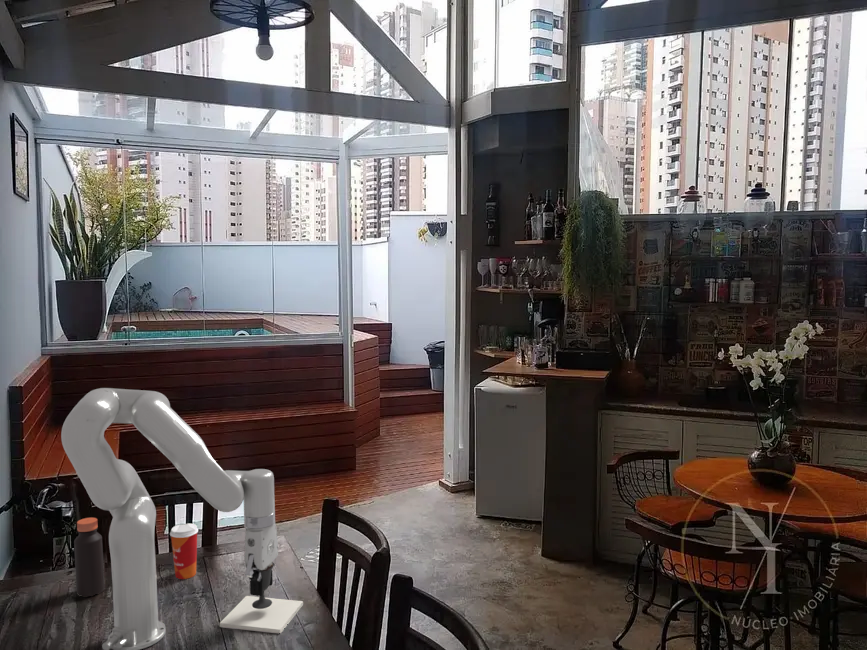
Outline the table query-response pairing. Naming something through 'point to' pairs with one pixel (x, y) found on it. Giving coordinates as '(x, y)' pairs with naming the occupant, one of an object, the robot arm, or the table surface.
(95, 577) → the bottle
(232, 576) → the table surface
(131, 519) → the robot arm
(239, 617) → the board
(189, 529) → the paper cup
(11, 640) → the table surface
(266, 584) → the sundae
